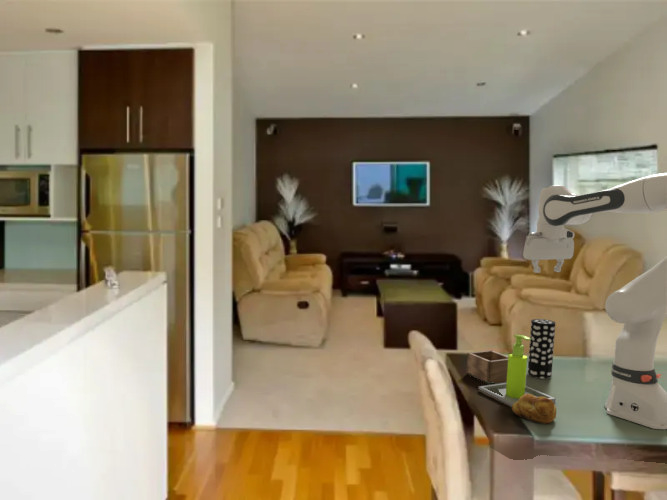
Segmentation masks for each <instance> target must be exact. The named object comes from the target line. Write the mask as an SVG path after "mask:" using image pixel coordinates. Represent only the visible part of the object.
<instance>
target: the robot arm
mask: <svg viewBox="0 0 667 500" xmlns="http://www.w3.org/2000/svg"><path fill="white" fill-rule="evenodd" d="M537 211H538V219H537V222H536V223H537V224H536V232H529V233H528V235H526V237H525V242H524V247H523V253H522V256H523V258H524V259H525V260H529V261H531V265H532V267H533V273H535V274H537V273H541V267H540V266H539V263H540V260H542V261H543V260H545V261H546V260H556V262H557V263H556V265H555V266H553V272H555V273H561V271H562V267H563V265H564V263H565V260H571V259H572V258H573V256H574V253H575V252H574V251H575V240H574V238H575V232H574V231H572V230H570V229H567V228H565V226H570V225H571V226H573V225H576V226H578V225H584V224H586V223H588V222H589V221H590V220H591V219H592V217H593V215H594V214H597V213H598V214H599V213H618V214H619V213H620V214H631V215H632V214H633V215H643V214H652V213H658V212H663V211H664V212H665V211H667V172H664V173H657V174H652V175H647V176H643V177H639V178H636V179H633V180H631V181H628V182H625V183H622V184H618V185H616V186H613V187H610V188H608V189H604V190H600V191H595V192H591V193H585V194H581V195H579V194H577V193H574V192H572V191H570V190H569V189H567V187H566V186H564V185H563V184H561V185H560V184H555V185H548V186H545V187H543V188H542V189H541V191H540V194H539V199H538V208H537ZM604 309H605V312H606V314H607V316H608V317H609V318H610V319H611V320H612V321H614V322H615V323H619V324H623V327H622V329H621V331H620V333H619V334H618V335H617V336H616V340H615V345H614V347H615V348H614V359H613V363H612V365H611V377H612V378H611V384H610V388H609V393H608V396H607V399H606V401H605V403H604V407H605V409H606V414H608V415H611V416H613V417H617V418H620V419H623V420H627V421H628V422H633V423H634V424H635V423H636V424H639V425H641V426H644V427H647V428H651V429H653V430H667V391H666V390H665V389H664V388H663V386H661V385H660V383H659V379H660V378H662V373H658V374H657V372H656V370H655V367H654V365H655V358H656V357H655V356H656V347H657V342H658V339H659V335H660V332H661V329H662V327H663V325H664V324H663V323H664V321H665V319H666V317H667V255H666V256H665V257H663V258H662V259H661V260H660V261H659V262H658V263H656V264H655V265H653V266H652V267H651V268H649V269H648V270H646V271H645V272H643V273H642V274H640V275H639V276H637V277H636V278H634V279H633V280H631V281H629V282H628V283H626V284H625V285H623V286H622V287H620V289H619V288H618V289H617V290H615V291H614V292H612V293H610V295H608V297H606V300H605V305H604Z"/></svg>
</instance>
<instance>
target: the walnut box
mask: <svg viewBox="0 0 667 500" xmlns="http://www.w3.org/2000/svg"><path fill="white" fill-rule="evenodd" d="M507 368H508V355H505V354H502V353H500V352H497V351H496V350H495V351H494V350H492V349H490V350H482V351H480V350H479V351H473V352H472V351H471V352H467V358H466V373H467V372H468V373H471V374H472V375H475V376H477V377H479V378H481V379H483V380H485V381H488V382H494V383H495V384H501V383H507Z"/></svg>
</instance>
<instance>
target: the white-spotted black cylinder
mask: <svg viewBox="0 0 667 500" xmlns="http://www.w3.org/2000/svg"><path fill="white" fill-rule="evenodd" d="M555 333H556V322H555V321H553V320H550V319H543V318H534V319H533V318H532V319H531V320H530V335H529V338H531V340H529V348H528V349H529V350H528V360H527V375H528V376H529V377H532V378H535V379H545V380H546V379H547V380H548V379H551V378H552V377H553V375H552V372H553V363H554V361H553V359H554V345H555Z"/></svg>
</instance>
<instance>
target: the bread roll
mask: <svg viewBox="0 0 667 500" xmlns="http://www.w3.org/2000/svg"><path fill="white" fill-rule="evenodd" d="M555 404H556V403H555ZM555 404H554V403H553V401H552V400H551V399H548V398H546V397H537V398H536V397H535V396H534V395H531V394H524V395H523V396H521V397H520V398H519V400H518V402H516V403H514V404H513V405H512V408H511V410H512V413H513V414H514V415H515V416H517V415H518V416H517V417H520V418H522V419H523V418H524V419H526V420H529V421H531V422H534V423H539V424H542V425H543V424H550V423H552V422H553V421H554V420H556V417H557V406H556V405H555Z"/></svg>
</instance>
